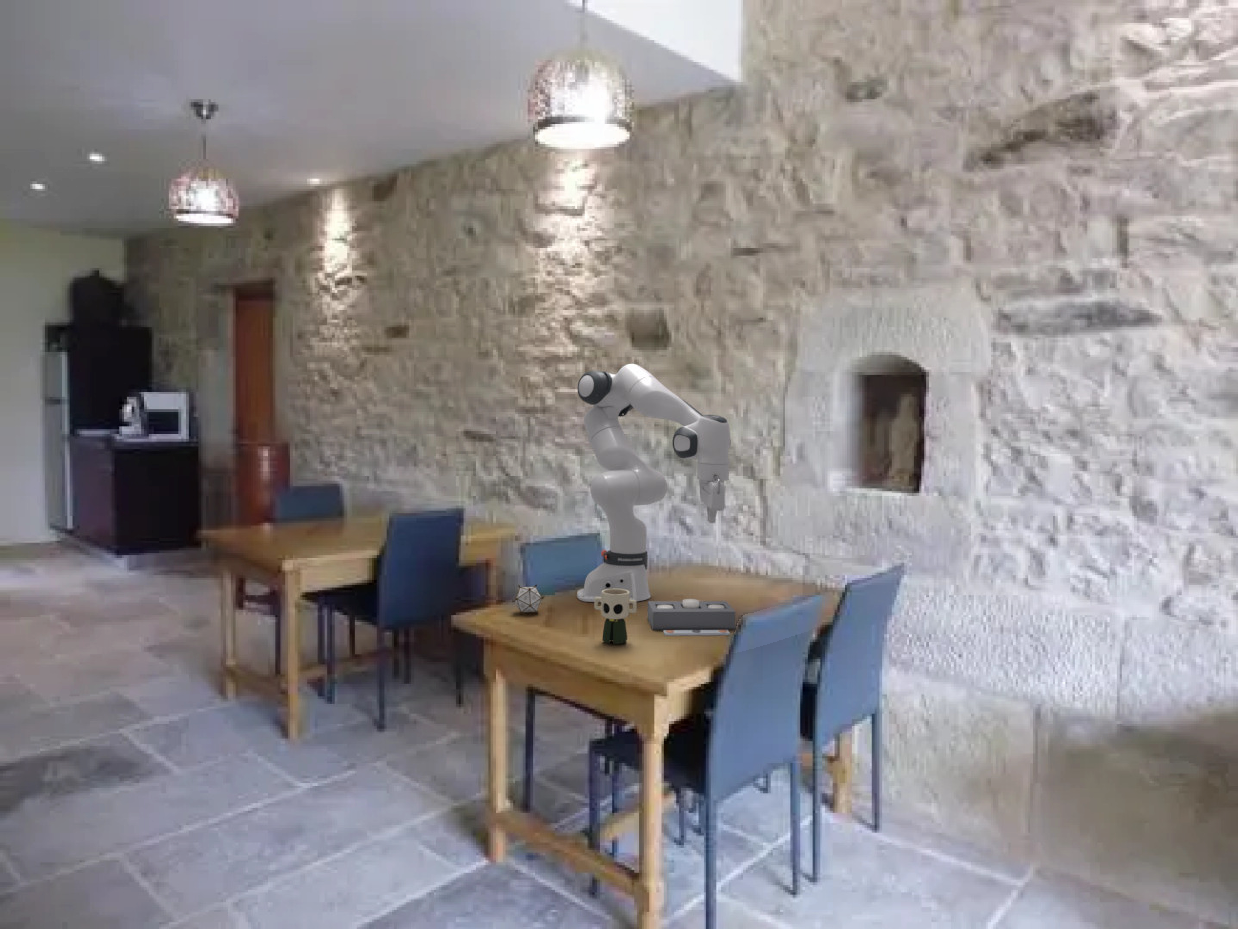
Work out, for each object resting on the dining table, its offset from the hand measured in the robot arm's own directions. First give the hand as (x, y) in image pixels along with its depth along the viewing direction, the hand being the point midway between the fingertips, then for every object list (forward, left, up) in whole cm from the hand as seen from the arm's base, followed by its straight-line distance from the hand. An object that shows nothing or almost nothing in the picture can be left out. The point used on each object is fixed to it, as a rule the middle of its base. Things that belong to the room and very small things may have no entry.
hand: (711, 522), depth 251 cm
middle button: (-7, -10, -23) cm, 26 cm away
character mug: (-29, -27, -27) cm, 48 cm away
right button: (0, -10, -24) cm, 27 cm away
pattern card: (-7, -20, -27) cm, 34 cm away
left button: (-14, -10, -24) cm, 30 cm away
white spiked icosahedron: (-51, +3, -27) cm, 58 cm away
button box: (-7, -10, -27) cm, 29 cm away
